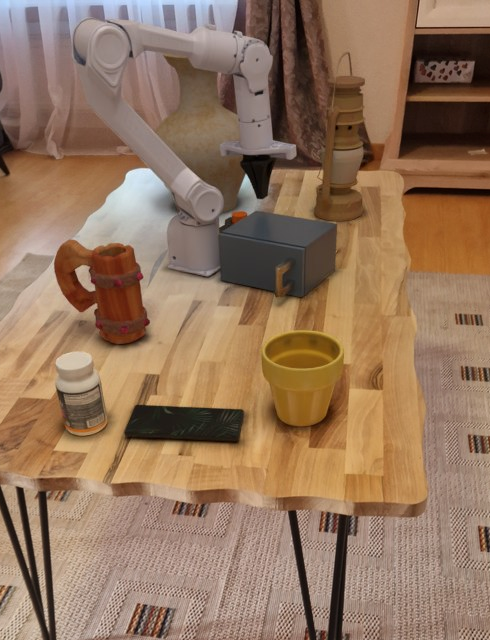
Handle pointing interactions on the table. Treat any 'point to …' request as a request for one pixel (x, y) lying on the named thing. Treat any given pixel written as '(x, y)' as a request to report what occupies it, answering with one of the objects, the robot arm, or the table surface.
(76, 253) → the mug
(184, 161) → the vase
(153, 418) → the smartphone
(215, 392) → the table surface
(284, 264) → the grey piece
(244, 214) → the release button
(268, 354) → the flower pot
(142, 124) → the robot arm
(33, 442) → the table surface
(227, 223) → the control block
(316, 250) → the grey cabinet
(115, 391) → the table surface
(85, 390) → the pill bottle
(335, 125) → the lantern
